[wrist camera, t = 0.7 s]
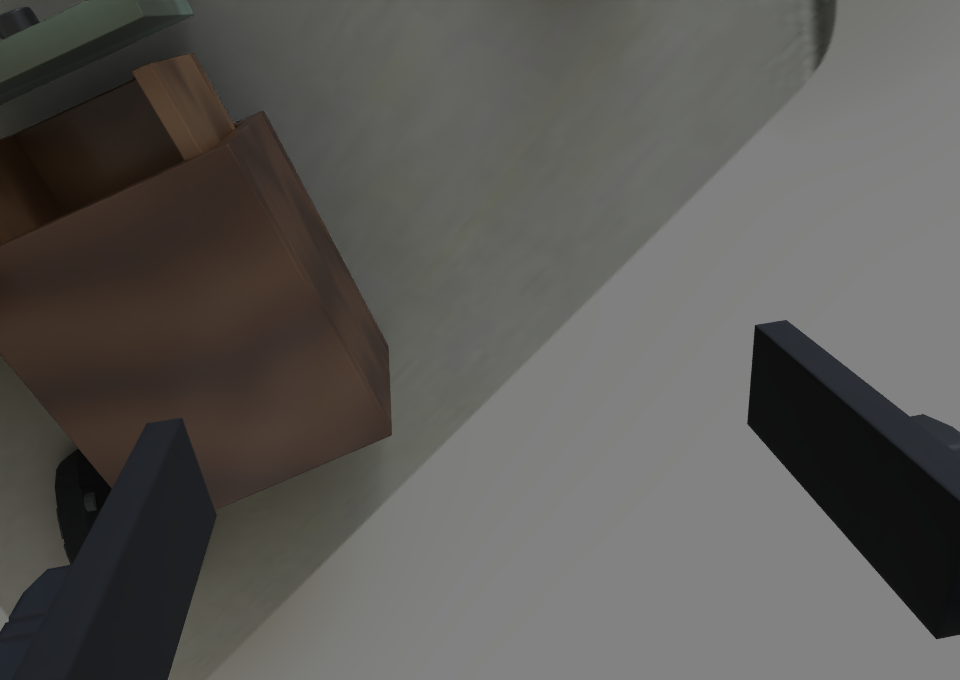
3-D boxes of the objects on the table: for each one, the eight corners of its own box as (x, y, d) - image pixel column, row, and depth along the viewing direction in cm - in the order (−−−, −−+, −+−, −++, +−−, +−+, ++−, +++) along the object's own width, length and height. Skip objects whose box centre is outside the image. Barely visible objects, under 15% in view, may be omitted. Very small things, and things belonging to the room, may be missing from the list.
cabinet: (40, 211, 36) (-67, 275, 28) (263, 110, 36) (227, 143, 27) (197, 429, 43) (151, 537, 34) (389, 346, 42) (392, 435, 34)
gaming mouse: (130, 388, 41) (106, 425, 38) (205, 576, 48) (192, 623, 44) (19, 408, 41) (-15, 446, 37) (111, 595, 47) (89, 643, 44)
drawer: (-62, 66, 32) (-185, 82, 25) (165, -40, 32) (105, -54, 25) (129, 332, 39) (74, 404, 32) (320, 248, 38) (308, 302, 31)
